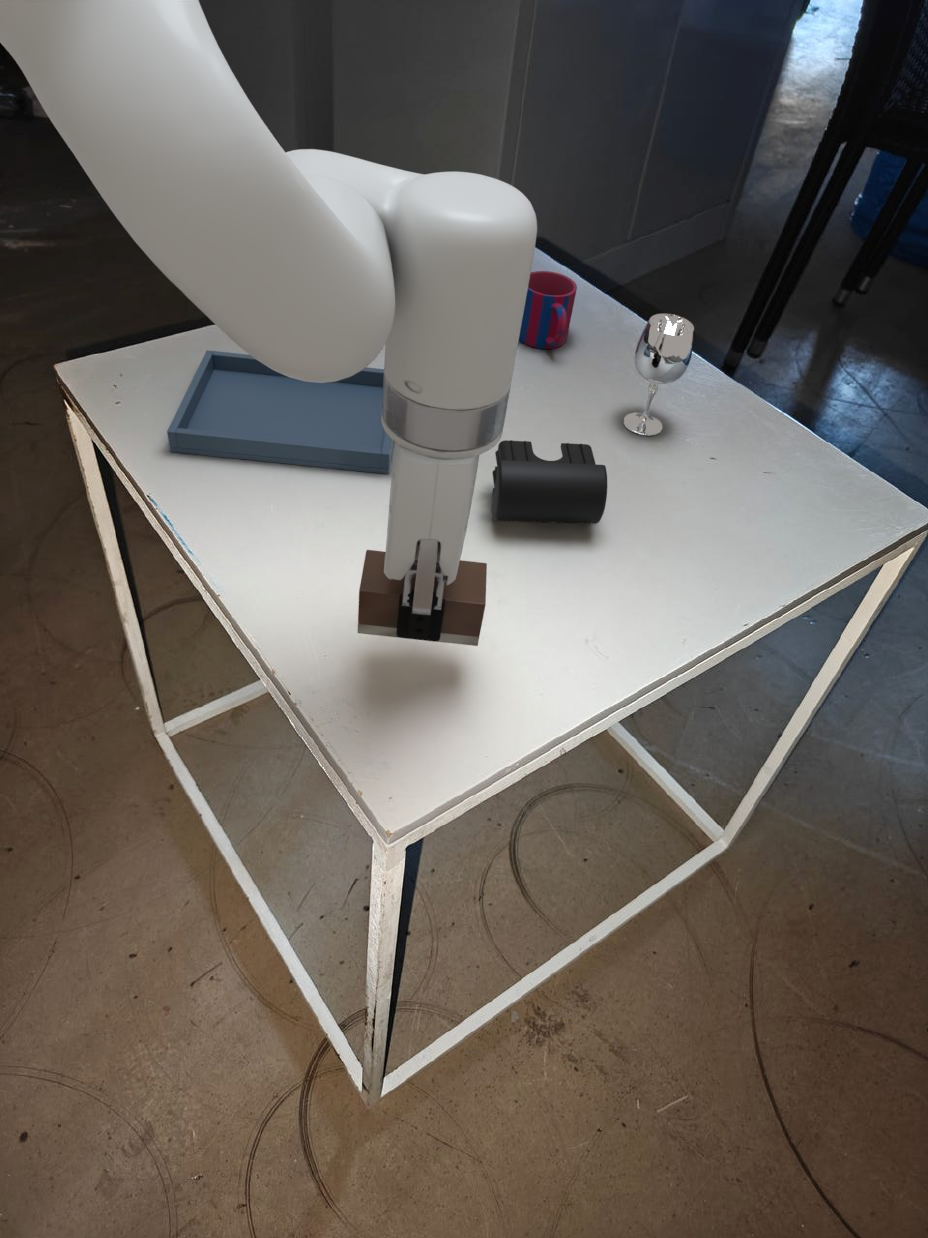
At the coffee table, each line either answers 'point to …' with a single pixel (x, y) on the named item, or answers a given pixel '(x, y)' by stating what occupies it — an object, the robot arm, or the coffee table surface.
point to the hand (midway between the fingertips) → (420, 609)
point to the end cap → (548, 485)
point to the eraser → (460, 596)
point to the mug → (547, 310)
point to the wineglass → (660, 363)
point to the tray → (282, 416)
